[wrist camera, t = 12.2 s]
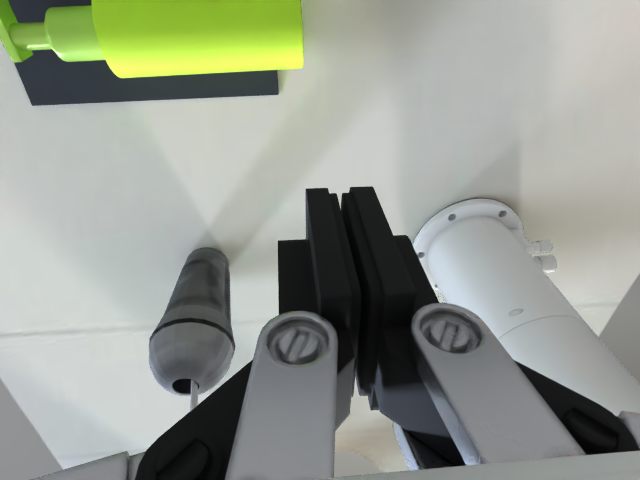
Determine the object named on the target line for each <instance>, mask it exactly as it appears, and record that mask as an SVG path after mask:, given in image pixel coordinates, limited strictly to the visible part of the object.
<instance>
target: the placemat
mask: <svg viewBox="0 0 640 480" xmlns="http://www.w3.org/2000/svg"><path fill="white" fill-rule="evenodd" d="M8 1H9V4H10V6H11V8H12V11H13V13H14V15H15V17H16V19H17V21H18V23H31V22H44V20H45V14H46V11H47V10H48V9H49V8H51V7H67V6H90V5H92V0H8ZM32 52H33V55H32V56H30V57H29V58H27V59H26V60H24V61H23V62H14V63H15V66H16V68H17V70H18V73H19V75H20V78H21V80H22V82H23V85H24V87H25V90H26V92H27V94H28V97H29V99H30V102H31V104H32V106H35V105H57V104H80V103H102V102H125V101H147V100H170V99H192V98H214V97H237V96H259V95H278V94H279V93H278V79H277V70H262V71H244V72H226V73H207V74H189V75H171V76H152V77H134V78H119V77H118V76H116V75H115V74H114V73H113V71H112V70H111V69H110V67H109V65H108V64H107V62H106V60H94V61H74V62H66V61H63V60H62V59H61V58H59V57H58V55H57V54H56V53H55V52H54V51H53V49H48V50H32Z"/></svg>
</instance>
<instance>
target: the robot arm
mask: <svg viewBox="0 0 640 480" xmlns="http://www.w3.org/2000/svg"><path fill="white" fill-rule="evenodd" d="M552 248H553V247H552V243H551V241H549V240H544V241H536V242H530V241H529V240H527V239H526V238H525V236H524V229H523V226H522V223H521V220H520V219H519V218H518V216H517V215H516V214H515V213H514V212H513V211H512V209H511V208H510V207H508V206H506V205H505V204H503V203H501V202H498V201H495V200H490V199H471V200H467V201H462V202H459V203H456V204H454V205H451V206H449V207H447V208H445V209H444V210H442V211H440V212H439V213H437V214H436V215H435V216H433V217H432V218H431V219H430V220H429V221H428V222H427V223H426V224H425V225H424V226H423V227H422V229H421V230H420V232H419V233H418V235H417V236H416V239H415V241H414V243H413V245H412V243H411V241H410V239H409V238H408V236H406V235H397V236H393V234H392V231H391V229H390V227H389V224H388V222H387V219H386V217H385V215H384V212H383V210H382V207H381V205H380V202H379V200H378V198H377V195H376V193H375V190H374V188H373V187H351V188H350V191H349V193H342V200H341V210H340V206H339V202H338V198H337V194H336V193H333V194H329V191H328V188H313V189H306V239H305V240H282V241H278V282H279V315H278V316H276V317H275V318H273V319H271V320H270V321H269V322H268V323H267V324H266V325H265V326H264V327H263V328H262V330H261V332H260V335H259V337H258V341H257V345H256V350H255V354H254V358H253V360H252V361H251V362H249V363H248V364H247V365H246V366H244V367H243V368H242V369H241V370H240V371H238V372H237V373H236V374H235V375H234V376H232V377H231V378H230V379H229V380H228V381H226V382H225V383H224V384H223V385H222V386H220V387H219V388H218V389H217V390H216V391H214V392H213V393H212V394H211V395H210V396H208V397H207V398H206V399H205V400H204V401H202V402H201V403H200V404H199V405H198V406H196V407H195V408H194V409H193V410H192V411H190V412H189V413H188V414H187V415H186V416H184V417H183V418H182V419H181V420H179V421H178V422H177V423H176V424H175V425H173V426H172V427H171V428H170V429H169V430H167V431H166V432H165V433H164V434H163V435H161V436H160V437H159V438H158V439H157V440H156V441H155V442H154V443H153V444H152V445H151V446H150V447H149V448H148V449H147V451H146V452H142V453H139V454H136V455H132V456H129V454H128V452H127V451H125V452H122V453H118V454H115V455H112V456H108V457H105V458H102V459H98V460H95V461H92V462H88V463H85V464H81V465H78V466H75V467H71V468H68V469H65V470H61V471H58V472H55V473H51V474H48V475H44V476H41V477H38V478H35V479H31V480H640V384H639V382H638V381H637V380H636V379H635V378H634V377H633V376H632V375H631V374H630V373H629V372H628V371H627V370H626V369H625V367H624V366H623V365H622V364H621V363H620V362H619V361H618V359H617V358H616V357H615V356H614V355H613V354H612V353H611V352H610V351H609V349H608V348H607V347H606V346H605V345H604V344H603V342H602V341H601V340H600V339H599V338H598V336H597V335H596V334H595V333H594V332H593V330H592V329H591V328H590V327H589V326H588V324H587V323H586V322H585V321H584V320H583V318H582V317H581V316H580V315H579V314H578V312H577V311H576V310H575V309H574V308H573V306H572V305H571V304H570V303H569V302H568V300H567V299H566V298H565V297H564V296H563V294H562V293H561V292H560V291H559V289H558V288H557V287H556V286H555V285H554V283H553V282H552V281H551V280H550V279H549V277H548V276H547V275H546V274H545V273H547V272H554V271H556V269H557V260H556V258H555V257H554V256H553V255H547V256H535V257H531V255H532V253H549V252H551V251H552ZM433 289H435V290H439V291H440V292H441V294H442V296H443V298H444V300H445V302H446V303H439V301H438V299H437V297H436V295H435V293H434V290H433ZM355 376H356V381H357V386H358V391H359V395H360V396H367V395H368V400H369V404H370V409H371V410H380V412H381V413H382V414H384V415H385V416H387V417H388V418H389V419H391V420H392V421H393V429H394V433H395V436H396V439H397V441H398V444H399V446H400V448H401V451H402V453H403V456H404V458H405V461H406V463H407V466H408V468H409V471H400V472H389V473H378V474H367V475H356V476H345V477H334V452H335V431H336V430H337V428H338V427H339V426H340V425H341V424H342V422H343V421H344V420H345V419H346V418H347V417H348V415H349V414H350V403H351V397H353V393H354V382H355Z"/></svg>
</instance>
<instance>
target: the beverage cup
mask: <svg viewBox="0 0 640 480" xmlns="http://www.w3.org/2000/svg"><path fill="white" fill-rule="evenodd" d="M228 267H229V263H228V260H227V258H226V257H225V255H224V254H222V253H221V252H220V251H218V250H215V249H211V248H200V249H197V250H195V251H193V252H192V253H191V254H190V255H189V256H188V258H187V261H186V263H185V265H184V266H183V268H182V271H181V273H180V276H179V278H178V281H177V283H176V286H175V288H174V291H173V293H172V296H171V298H170V301H169V303H168V306H167V309H166V311H165V314H164V316H163V318H162V319H161V321H160V323H159V324H158V326H157V328H156V330H155V331H154V332H153V334H152V336H151V337H150V342H149V364H150V368H151V370H152V373H153V375H154V377H155V379H156V381H157V382H158V383H159V384H160V385H161V386H162V387H163V388H164V389H166V390H167V391H169V392H171V393H173V394H177V395H180V396H191V404H190V411H192V410H193V409H194V408H195V407H196V406H197V404H198V394H201V393H204V392H206V391H208V390H210V389H211V388H213V387H214V386H215V385H217V384H218V383H219V381H220V380H221V379H222V378H223V377H224V375H225V374H226V372H227V371H228V369H229V366H230V364H231V359H232V357H233V355H234V351H235V343H234V339H233V333H232V328H231V315H230V273H229V268H228Z"/></svg>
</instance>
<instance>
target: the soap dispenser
mask: <svg viewBox="0 0 640 480" xmlns="http://www.w3.org/2000/svg"><path fill="white" fill-rule="evenodd" d="M0 39H1V41H2V43H3V45H4V47H5V49H6V50H7V52H8V54H9V56H10V58H11V59H12V61H13V62H23V61H24V60H26V59H27V58H29V57H30V56H32V55H33V52H32V50H48V49H53V51H54V52H55V53H56V54H57V55H58V57H59V58H61V59H62V60H63V61H66V62H74V61H94V60H106V62H107V64H108V65H109V67H110V69H111V70H112V71H113V73H114V74H115V75H116V76H118V77H119V78H134V77H152V76H171V75H189V74H207V73H226V72H244V71H262V70H281V69H299V68H303V27H302V10H301V0H92V5H90V6H67V7H51V8H49V9H48V10H47V11H46V14H45V20H44V22H31V23H18V21H17V19H16V17H15V15H14V13H13V11H12V8H11V6H10V4H9V1H8V0H0Z"/></svg>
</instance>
